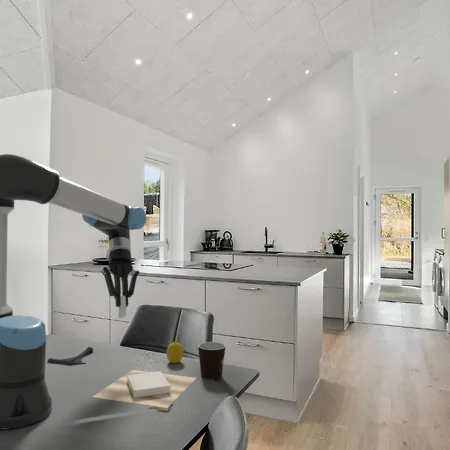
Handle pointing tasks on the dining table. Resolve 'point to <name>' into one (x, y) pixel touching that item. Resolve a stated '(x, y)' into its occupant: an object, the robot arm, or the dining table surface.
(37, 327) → the robot arm
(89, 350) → the dark grey forked piece
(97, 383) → the dining table surface
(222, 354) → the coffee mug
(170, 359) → the lemon
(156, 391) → the tile
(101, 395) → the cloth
